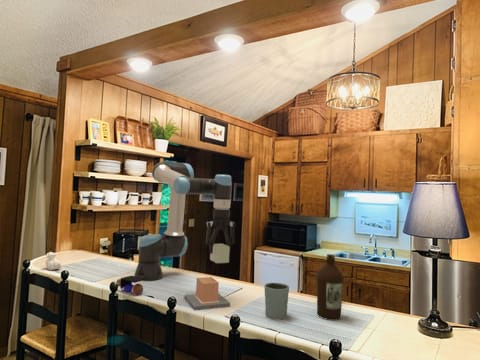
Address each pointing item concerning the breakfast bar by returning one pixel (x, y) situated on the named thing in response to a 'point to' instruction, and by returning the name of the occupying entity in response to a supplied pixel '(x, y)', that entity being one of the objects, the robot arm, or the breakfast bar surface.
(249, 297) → the breakfast bar surface
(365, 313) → the breakfast bar surface
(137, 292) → the figurine character
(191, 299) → the slate board
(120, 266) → the breakfast bar surface
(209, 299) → the terracotta brick
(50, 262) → the duck figurine
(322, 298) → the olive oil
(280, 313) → the grey cup
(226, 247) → the sage brick
